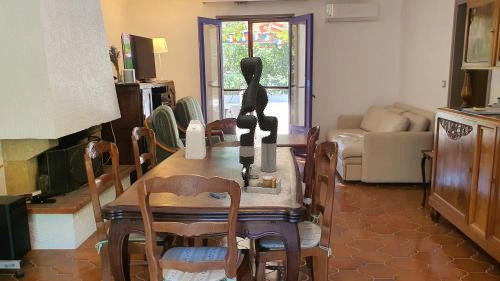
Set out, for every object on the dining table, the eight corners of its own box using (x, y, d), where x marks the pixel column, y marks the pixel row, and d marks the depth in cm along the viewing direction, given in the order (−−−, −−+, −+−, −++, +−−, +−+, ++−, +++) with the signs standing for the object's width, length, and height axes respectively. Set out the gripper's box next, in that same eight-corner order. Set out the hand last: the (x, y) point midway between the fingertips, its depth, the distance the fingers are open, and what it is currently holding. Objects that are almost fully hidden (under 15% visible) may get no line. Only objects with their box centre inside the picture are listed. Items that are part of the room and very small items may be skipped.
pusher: (274, 187, 205) (274, 176, 204) (276, 187, 205) (276, 176, 204) (271, 192, 197) (272, 180, 196) (273, 192, 197) (274, 180, 196)
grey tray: (251, 185, 209) (251, 174, 208) (281, 188, 206) (281, 176, 205) (246, 192, 199) (246, 180, 198) (277, 194, 195) (278, 182, 194)
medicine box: (209, 195, 193) (209, 178, 192) (216, 193, 196) (216, 176, 195) (219, 198, 188) (219, 181, 186) (226, 196, 191) (226, 179, 189)
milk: (206, 155, 283) (205, 119, 278) (202, 159, 272) (202, 121, 267) (189, 155, 284) (188, 118, 280) (185, 158, 273) (184, 120, 268)
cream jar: (250, 187, 207) (250, 174, 205) (259, 188, 206) (260, 174, 204) (247, 190, 202) (247, 176, 200) (257, 191, 201) (257, 177, 199)
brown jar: (262, 188, 205) (262, 175, 203) (272, 188, 204) (272, 175, 203) (261, 191, 200) (262, 178, 198) (272, 192, 199) (272, 178, 198)
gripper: (242, 151, 208) (242, 183, 211) (236, 156, 196) (236, 190, 199) (256, 152, 207) (256, 184, 210) (250, 157, 194) (250, 191, 197)
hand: (246, 187), depth 204 cm, fingers closed
